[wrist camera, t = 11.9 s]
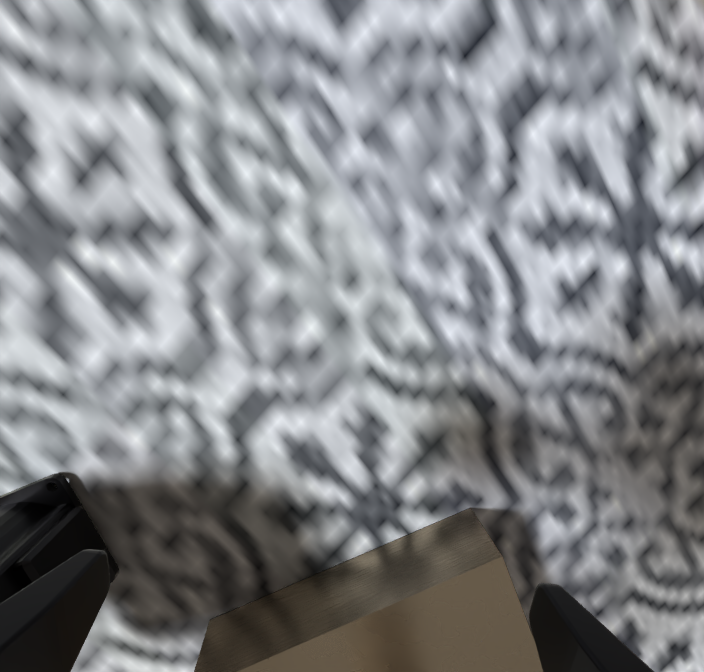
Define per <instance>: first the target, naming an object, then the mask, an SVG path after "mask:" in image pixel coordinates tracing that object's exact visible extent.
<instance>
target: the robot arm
mask: <svg viewBox="0 0 704 672" xmlns="http://www.w3.org/2000/svg"><path fill="white" fill-rule="evenodd" d="M52 482H53V483H55V484H56V485H57V488H56V487H54V486H53V485H52ZM118 572H119V569H118V566H117V564H116V563H115V561H114V559H113V558H112V556H111V554H110V552H109V551H108V549H107V547H106V546H105V544H104V542H103V540H102V539H101V537H100V535H99V534H98V532H97V530H96V529H95V527H94V525H93V523H92V522H91V520H90V518H89V517H88V515H87V513H86V512H85V510H84V508H83V507H82V505H81V503H80V502H79V500H78V498H77V497H76V495H75V493H74V491H73V490H72V488H71V486H70V485H69V483H68V481H67V480H66V478H65V477H64V476H62V475H60V474H52V475H50V476H47V477H45V478H43V479H40V480H38V481H35V482H33V483H31V484H28V485H26V486H23V487H21V488H19V489H16V490H14V491H11V492H9V493H7V494H4V495H2V496H0V672H70V671H71V669H72V667H73V665H74V663H75V661H76V659H77V657H78V655H79V653H80V650H81V648H82V646H83V644H84V642H85V640H86V638H87V636H88V633H89V631H90V629H91V627H92V625H93V623H94V621H95V619H96V617H97V614H98V612H99V610H100V608H101V606H102V604H103V602H104V600H105V597H106V595H107V593H108V590H109V586H110V583H111V582H113V580H114V579H115V577H116V576H117V574H118ZM109 574H110V575H109ZM529 618H530V625H531V629H532V633H533V637H534V640H535V644H536V647H537V651H538V655H539V658H540V662H541V666H542V669H543V672H654V671H653V670H652V669H651V668H650V667H648V666H647V665H646V664H645V663H644V662H643V661H642V660H641V659H640V658H639V657H638V656H636V655H635V654H634V653H633V652H632V651H631V650H630V649H629V648H628V647H627V646H626V645H624V644H623V643H622V642H621V641H620V640H619V639H618V638H617V637H616V636H615V635H614V634H612V633H611V632H610V631H609V630H608V629H607V628H606V627H605V626H604V625H603V624H602V623H600V622H599V621H598V620H597V619H596V618H595V617H594V616H593V615H592V614H591V613H590V612H588V611H587V610H586V609H585V608H584V607H583V606H582V605H581V604H580V603H579V602H578V601H576V600H575V599H574V598H573V597H572V596H571V595H570V594H569V593H568V592H567V591H566V590H564V589H563V588H562V587H561V586H559V585H556V584H544V583H541V584H539V585H538V586H537V588H536V591H535V595H534V598H533V602H532V605H531V609H530V615H529Z"/></svg>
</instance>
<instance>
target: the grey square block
mask: <svg viewBox="0 0 704 672" xmlns="http://www.w3.org/2000/svg"><path fill="white" fill-rule="evenodd" d="M194 672H543V669H542V666H541V662H540V658H539V655H538V651H537V647H536V644H535V641H534V638H533V635H532V633H531V630H530V628H529V625H528V622H527V620H526V617H525V614H524V612H523V609H522V607H521V604H520V601H519V599H518V596H517V593H516V591H515V588H514V585H513V583H512V580H511V578H510V575H509V572H508V570H507V567H506V564H505V562H504V559H503V557H502V555H501V553H500V552H499V550H498V549H497V547H496V546H495V544H494V543H493V541H492V540H491V538H490V537H489V535H488V534H487V532H486V531H485V529H484V528H483V526H482V525H481V523H480V522H479V520H478V519H477V517H476V515H475V514H474V512H473V511H472V509H471V508H469V509H467V510H465V511H462V512H460V513H458V514H455V515H453V516H451V517H448V518H446V519H444V520H441V521H439V522H437V523H434V524H432V525H430V526H427V527H425V528H423V529H420V530H418V531H416V532H413V533H411V534H409V535H406V536H404V537H402V538H400V539H397V540H395V541H393V542H390V543H388V544H386V545H383V546H381V547H379V548H376V549H374V550H372V551H369V552H367V553H365V554H362V555H360V556H358V557H355V558H353V559H351V560H348V561H346V562H344V563H341V564H339V565H337V566H334V567H332V568H330V569H327V570H325V571H323V572H321V573H318V574H316V575H314V576H311V577H309V578H307V579H304V580H302V581H300V582H297V583H295V584H293V585H290V586H288V587H286V588H283V589H281V590H279V591H276V592H274V593H272V594H269V595H267V596H265V597H262V598H260V599H258V600H255V601H253V602H251V603H248V604H246V605H244V606H241V607H239V608H237V609H235V610H232V611H230V612H228V613H225V614H223V615H221V616H218V617H216V618H214V619H211V620H210V621H209V625H208V628H207V631H206V634H205V638H204V641H203V644H202V647H201V651H200V654H199V657H198V660H197V664H196V667H195V670H194Z"/></svg>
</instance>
